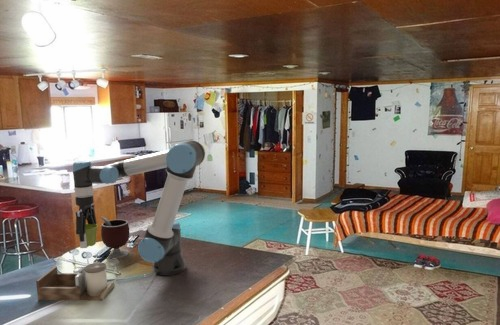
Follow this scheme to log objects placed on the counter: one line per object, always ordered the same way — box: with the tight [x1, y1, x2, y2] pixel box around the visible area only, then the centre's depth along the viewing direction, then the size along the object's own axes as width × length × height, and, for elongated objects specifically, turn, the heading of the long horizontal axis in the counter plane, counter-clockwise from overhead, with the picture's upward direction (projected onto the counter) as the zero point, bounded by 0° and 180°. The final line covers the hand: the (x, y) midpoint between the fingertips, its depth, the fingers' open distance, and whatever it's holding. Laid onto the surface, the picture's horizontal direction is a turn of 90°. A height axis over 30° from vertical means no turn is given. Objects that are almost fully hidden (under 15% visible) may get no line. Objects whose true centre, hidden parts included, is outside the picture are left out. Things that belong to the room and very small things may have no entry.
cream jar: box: [84, 262, 108, 296], centre depth 165 cm, size 8×8×11 cm
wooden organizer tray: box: [35, 266, 116, 302], centre depth 165 cm, size 26×14×9 cm, turn 88°
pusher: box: [72, 266, 87, 296], centre depth 164 cm, size 4×11×10 cm, turn 178°
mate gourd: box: [99, 215, 130, 259], centre depth 207 cm, size 16×14×20 cm
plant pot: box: [77, 223, 99, 248], centre depth 180 cm, size 9×9×9 cm
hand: (88, 244), depth 181 cm, fingers closed on plant pot, 8 cm apart
